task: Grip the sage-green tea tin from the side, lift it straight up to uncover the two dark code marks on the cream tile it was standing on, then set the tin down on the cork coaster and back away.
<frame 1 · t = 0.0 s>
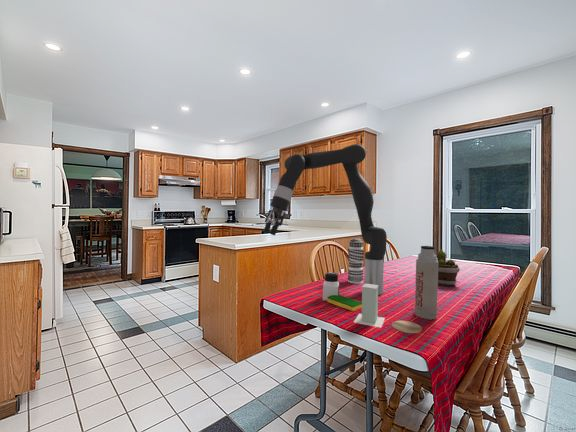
hand: (268, 233, 120), 31 cm above the table, tool tilted 20°, fingers open, 8 cm apart
code tile: (369, 320, 108), on the table
flowerpot: (444, 284, 162), on the table
thermos bottle: (425, 316, 114), on the table
dish sponge: (344, 305, 125), on the table, touching medicine bottle
cork coaster: (406, 327, 102), on the table
medicine bottle: (330, 299, 134), on the table, touching dish sponge
decorative candle: (355, 282, 164), on the table
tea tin: (369, 320, 108), resting on code tile
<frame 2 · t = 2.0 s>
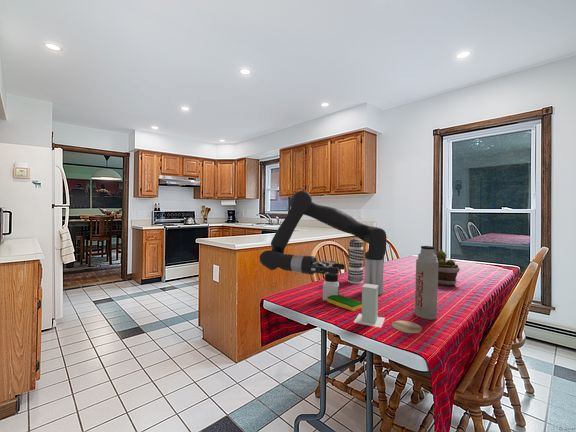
hand: (341, 268, 112), 19 cm above the table, tool horizontal, fingers open, 8 cm apart
nothing on the table moved.
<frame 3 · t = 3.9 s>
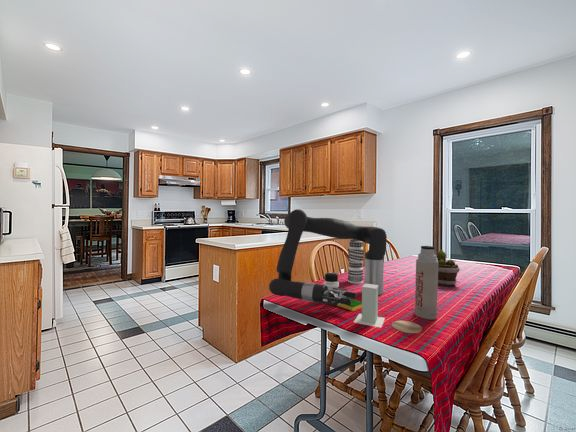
hand: (353, 298, 110), 7 cm above the table, tool horizontal, fingers open, 8 cm apart
nothing on the table moved.
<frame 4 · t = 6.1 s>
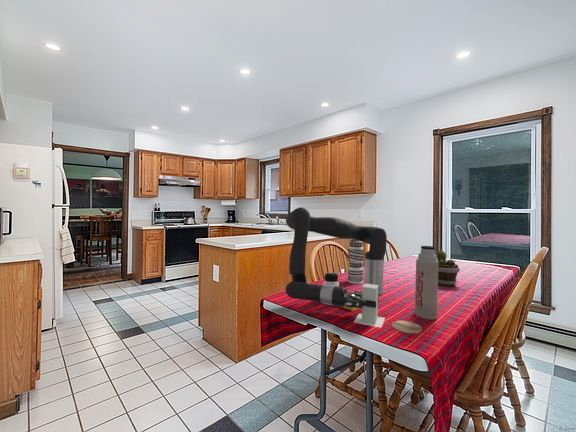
hand: (377, 302, 107), 8 cm above the table, tool horizontal, fingers closed on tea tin, 5 cm apart
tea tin: (369, 320, 108), resting on code tile, touching gripper
everything else where it was.
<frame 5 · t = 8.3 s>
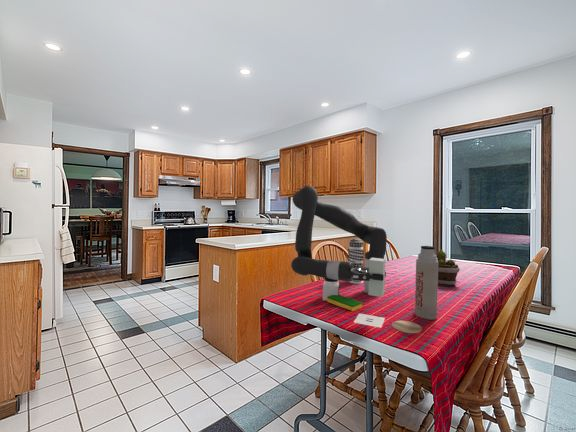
hand: (384, 276, 105), 18 cm above the table, tool horizontal, fingers closed on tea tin, 5 cm apart
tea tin: (376, 294, 106), point 11 cm above the table, touching gripper
everything else where it was.
when the fingers open (9 cm above the table, at t = 11.0 s): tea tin drops 1 cm, resting on cork coaster.
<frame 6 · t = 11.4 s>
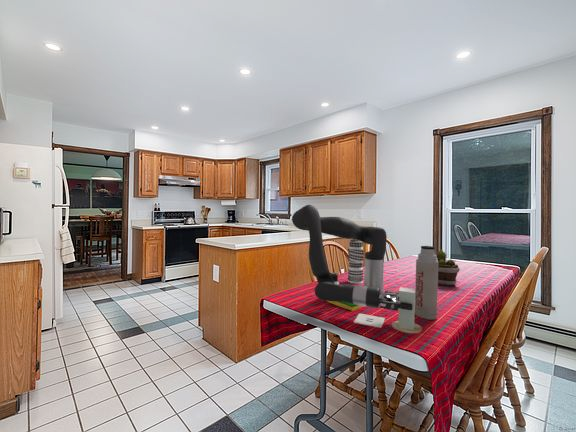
hand: (413, 303, 101), 9 cm above the table, tool horizontal, fingers open, 8 cm apart
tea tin: (406, 326, 102), point 1 cm above the table, touching cork coaster
everything else where it was.
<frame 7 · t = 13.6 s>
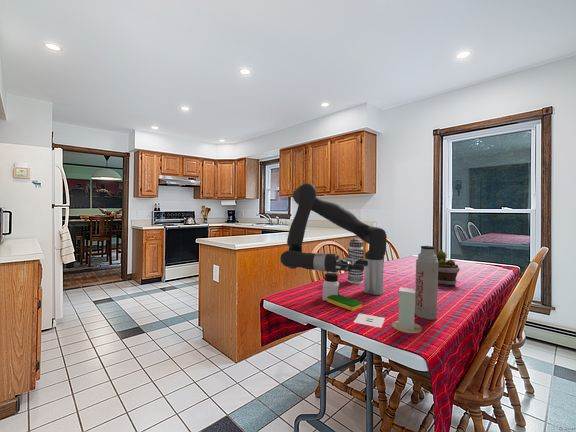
hand: (366, 265, 111), 20 cm above the table, tool horizontal, fingers open, 8 cm apart
nothing on the table moved.
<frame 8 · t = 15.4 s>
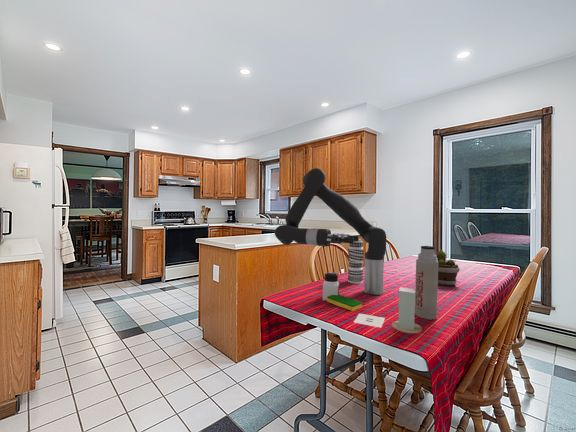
hand: (356, 239, 115), 30 cm above the table, tool horizontal, fingers open, 8 cm apart
nothing on the table moved.
at the end: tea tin inside the target area on the cork coaster (0.1 cm from its centre), point 0.6 cm above the cork coaster's base; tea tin tilted 0°; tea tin touching cork coaster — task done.
